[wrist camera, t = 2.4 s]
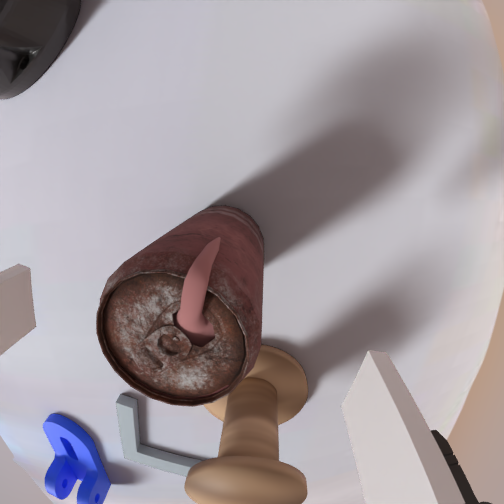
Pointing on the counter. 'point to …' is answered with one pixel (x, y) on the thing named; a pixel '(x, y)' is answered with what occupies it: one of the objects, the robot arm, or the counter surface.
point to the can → (187, 310)
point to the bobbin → (254, 438)
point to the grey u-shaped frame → (142, 453)
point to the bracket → (74, 462)
